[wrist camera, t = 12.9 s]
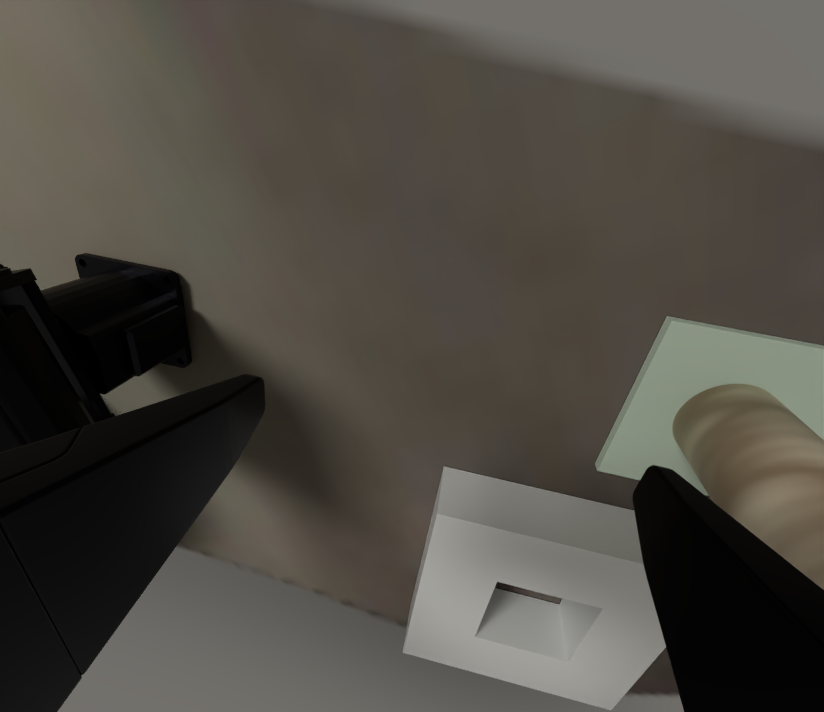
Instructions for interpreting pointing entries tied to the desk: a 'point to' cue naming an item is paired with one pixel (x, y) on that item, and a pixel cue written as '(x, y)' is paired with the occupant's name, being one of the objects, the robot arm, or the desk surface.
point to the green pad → (698, 371)
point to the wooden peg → (759, 468)
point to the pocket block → (541, 572)
